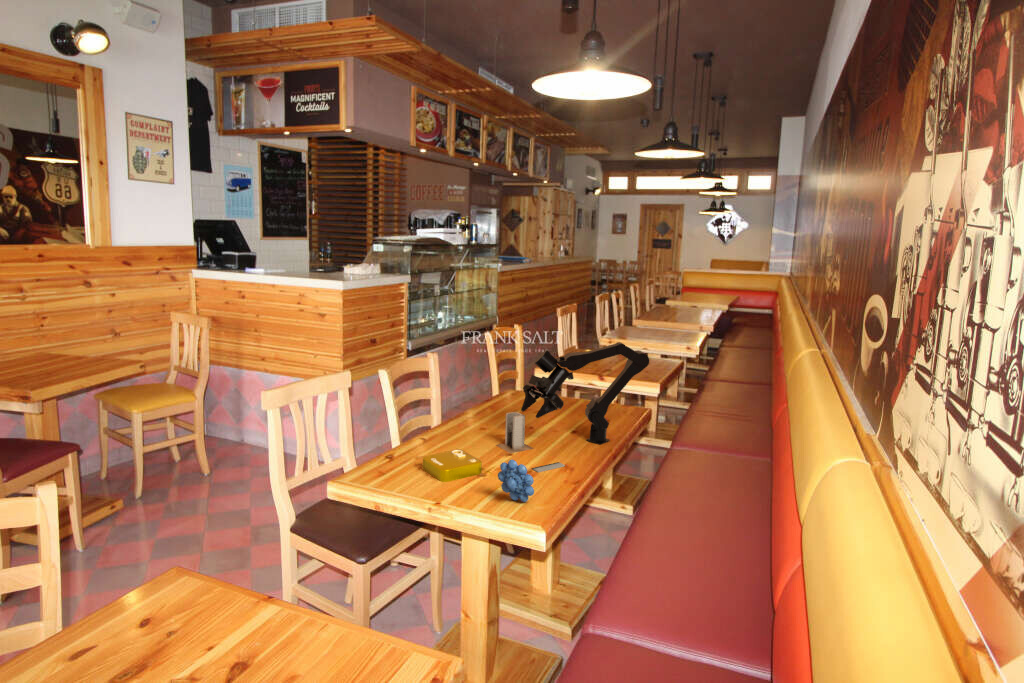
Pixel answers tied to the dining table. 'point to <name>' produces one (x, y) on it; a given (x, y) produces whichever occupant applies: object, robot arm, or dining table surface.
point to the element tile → (452, 465)
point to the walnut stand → (509, 448)
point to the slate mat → (548, 467)
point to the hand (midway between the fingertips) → (529, 414)
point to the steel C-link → (515, 430)
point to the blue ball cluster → (516, 481)
